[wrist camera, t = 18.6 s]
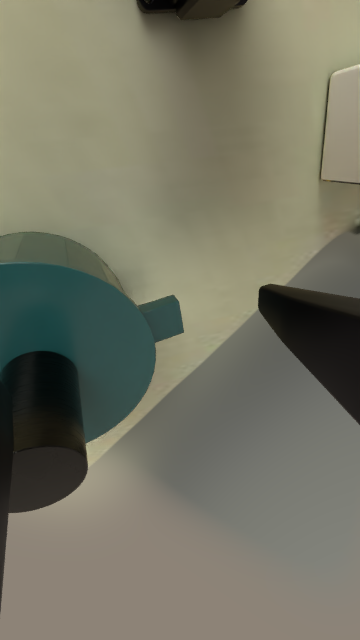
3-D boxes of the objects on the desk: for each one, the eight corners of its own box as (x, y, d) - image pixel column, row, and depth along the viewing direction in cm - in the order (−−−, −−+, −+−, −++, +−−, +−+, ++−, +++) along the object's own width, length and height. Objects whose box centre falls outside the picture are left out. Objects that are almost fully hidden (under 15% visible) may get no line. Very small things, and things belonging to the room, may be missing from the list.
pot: (-154, 271, 15) (-287, 346, 9) (135, 204, 19) (171, 227, 13) (-34, 402, 22) (-67, 495, 16) (163, 332, 25) (196, 386, 20)
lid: (-208, 304, 10) (-501, 475, 5) (121, 224, 13) (168, 273, 8) (-19, 472, 17) (-52, 615, 12) (166, 396, 20) (206, 483, 15)
